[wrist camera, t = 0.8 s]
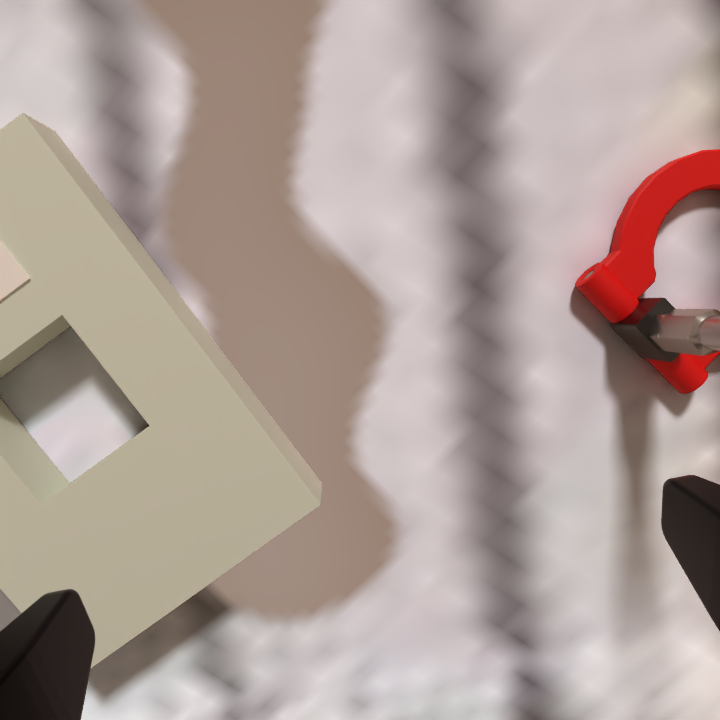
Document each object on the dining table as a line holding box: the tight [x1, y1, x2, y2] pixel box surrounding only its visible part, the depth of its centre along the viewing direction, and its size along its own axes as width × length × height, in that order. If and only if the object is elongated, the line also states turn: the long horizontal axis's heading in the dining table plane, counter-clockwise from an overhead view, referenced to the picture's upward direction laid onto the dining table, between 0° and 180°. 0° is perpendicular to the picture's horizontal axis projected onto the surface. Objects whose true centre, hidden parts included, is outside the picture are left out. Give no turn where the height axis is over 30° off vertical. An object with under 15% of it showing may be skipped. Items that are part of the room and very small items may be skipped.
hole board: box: [0, 113, 322, 668], centre depth 24 cm, size 18×12×3 cm, turn 36°
